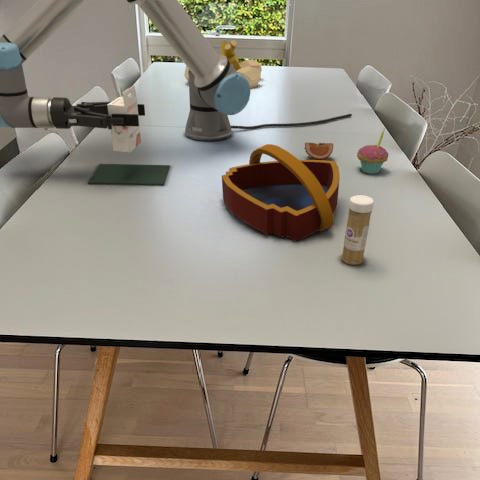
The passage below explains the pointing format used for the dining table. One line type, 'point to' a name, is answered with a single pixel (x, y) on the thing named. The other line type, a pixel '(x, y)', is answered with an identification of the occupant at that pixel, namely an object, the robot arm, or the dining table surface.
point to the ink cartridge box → (125, 135)
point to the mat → (130, 174)
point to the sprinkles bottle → (357, 229)
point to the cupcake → (372, 157)
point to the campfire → (247, 67)
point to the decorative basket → (283, 193)
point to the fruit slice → (319, 150)
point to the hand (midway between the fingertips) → (141, 115)
